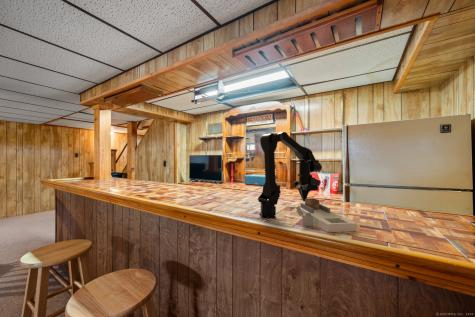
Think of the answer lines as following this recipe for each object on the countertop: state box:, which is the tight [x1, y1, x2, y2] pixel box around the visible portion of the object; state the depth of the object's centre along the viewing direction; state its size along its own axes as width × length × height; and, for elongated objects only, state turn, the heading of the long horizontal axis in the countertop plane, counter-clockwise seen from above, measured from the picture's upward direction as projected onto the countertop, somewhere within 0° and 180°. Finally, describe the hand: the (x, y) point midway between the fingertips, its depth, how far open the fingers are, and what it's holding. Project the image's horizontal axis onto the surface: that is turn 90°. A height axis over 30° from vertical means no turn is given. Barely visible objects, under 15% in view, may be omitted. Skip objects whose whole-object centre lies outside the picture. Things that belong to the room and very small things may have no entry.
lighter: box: [295, 204, 314, 227], centre depth 86 cm, size 7×2×8 cm, turn 68°
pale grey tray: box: [296, 203, 357, 233], centre depth 92 cm, size 12×28×5 cm, turn 7°
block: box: [304, 198, 320, 210], centre depth 102 cm, size 5×5×4 cm
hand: (304, 201), depth 110 cm, fingers closed
